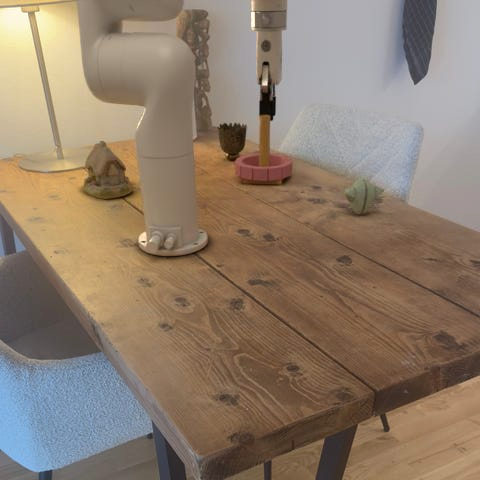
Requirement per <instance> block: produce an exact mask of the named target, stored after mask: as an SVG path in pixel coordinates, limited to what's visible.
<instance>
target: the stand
mask: <svg viewBox="0 0 480 480" xmlns="http://www.w3.org/2000/svg"><path fill="white" fill-rule="evenodd" d="M258 121H259V126H258V127H259V129H258V130H259V131H258V140H259V141H258V153H259V167H269V159H270V154H271V153H270V151H271V121H270V115H260V116H259V115H258ZM283 180H284V178H283V179H278V180H271V181H268V180H267V181H257V180H249V179H244V178H242V184H249V185H251V184H252V185H253V184H254V185H257V184H258V185H282V184H283Z"/></svg>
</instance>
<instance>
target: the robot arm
mask: <svg viewBox="0 0 480 480" xmlns="http://www.w3.org/2000/svg"><path fill="white" fill-rule="evenodd" d="M184 5H185V0H76V6H77V19H78V28H79V29H78V31H79V42H80V43H79V45H80V56H81V64H82V71H83V77H84V81H85V83H86V86H87V88H88V90H89V92H90V93H91V94H92V96H93V97H94V98H95V99H97V100H98V101H100V102H102V103H106V104H113V105H125V106H138V107H143V108H144V111H143V113H142V116H141V119H139V122H138V124H137V127H136V129H135V134H134V146H135V147H134V148H135V154H136V162H137V170H138V178H139V179H138V180H139V187H140V194H141V205H142V211H143V212H142V213H143V220H144V228H145V229H144V230H145V231H144V232H142V233H141V234H140V235H139V236H138V239H137V242H138V247H139V249H141V251H143V252H145V253H147V254H150V255H155V256H159V257H161V256H162V257H177V256H185V255H190V254H193V253H196V252H197V251H198V252H199V251H200V250H202V249H203V248H205V247H206V246H207V244H208V242H209V241H208V240H209V236H208V234H207V231H205V230H204V229H201V228H199V227H200V226H199V211H198V198H197V197H198V196H197V181H196V180H197V179H196V164H195V150H194V148H195V146H194V130H193V109H194V107H193V106H194V105H193V104H194V94H195V84H196V61H195V56H194V53H193V51H192V49H191V47H190V46H189V44H188V43H187V42H185V40H183V39H182V38H180V37H179V36H176V35H174V34H170V33H164V32H143V31H142V32H138V31H137V32H136V31H135V32H124V31H123V28H124V22H142V23H143V22H147V23H148V22H151V23H152V22H155V23H157V22H167V21H173V20H175V19H176V18H178V17H179V16H180V14H181V13H182V11H183V10H184ZM250 11H251V12H250V17H251V18H250V23H251V24H250V31H253V32H256V35H255V36H256V41H255V45H256V47H255V48H256V49H255V52H256V53H255V61H256V62H255V63H256V64H255V69H256V70H255V71H256V72H255V73H256V85H257V84H258V86H259V100H258V105H259V107H258V112H259V113H258V117H259V116H260V115H270V122H273V121H274V117H275V116H276V111H277V96H276V86H279V84H280V83H281V82H282V79H283V32H282V31H287V24H288V21H287V20H288V19H287V18H288V0H250Z"/></svg>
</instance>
